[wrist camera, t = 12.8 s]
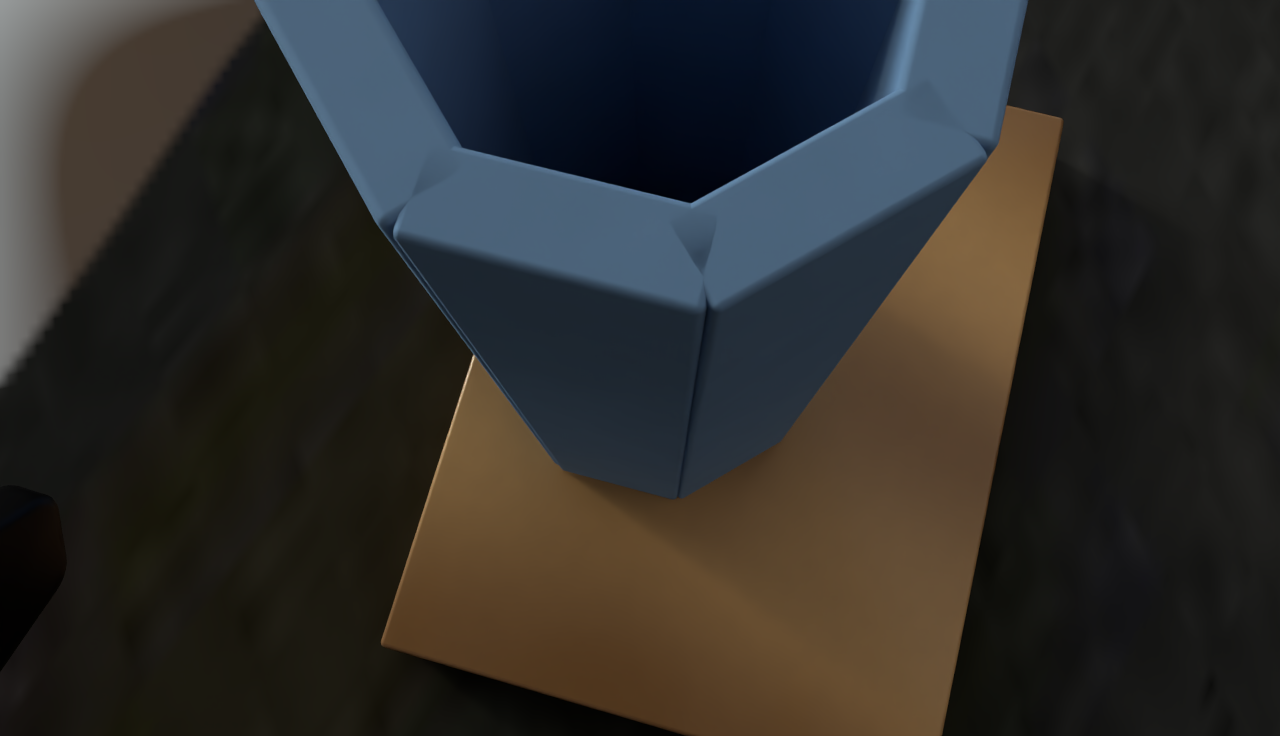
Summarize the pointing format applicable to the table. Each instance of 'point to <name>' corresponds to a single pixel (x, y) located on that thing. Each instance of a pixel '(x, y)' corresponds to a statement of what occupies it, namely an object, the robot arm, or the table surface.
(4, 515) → the robot arm
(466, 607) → the base
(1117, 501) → the table surface
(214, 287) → the table surface
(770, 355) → the sleeve
